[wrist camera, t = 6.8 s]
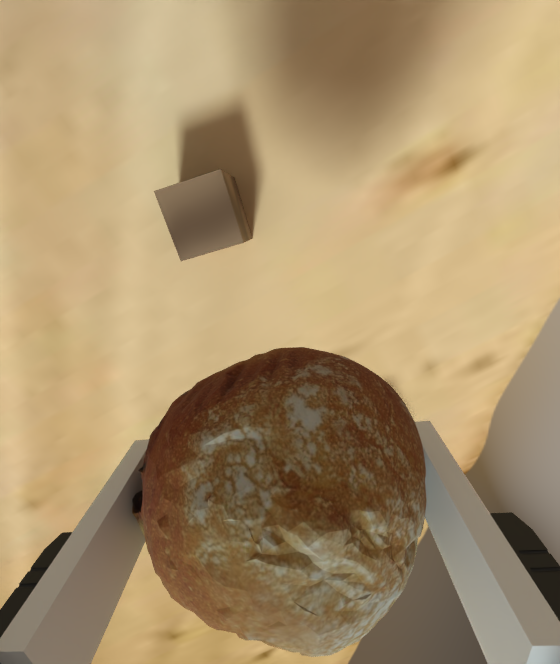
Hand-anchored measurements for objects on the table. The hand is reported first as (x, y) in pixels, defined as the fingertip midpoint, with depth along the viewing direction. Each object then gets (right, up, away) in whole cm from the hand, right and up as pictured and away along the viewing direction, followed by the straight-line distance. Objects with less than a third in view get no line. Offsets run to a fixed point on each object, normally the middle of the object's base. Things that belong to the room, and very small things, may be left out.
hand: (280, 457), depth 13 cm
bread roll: (0, 0, +1) cm, 1 cm away
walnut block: (-6, +15, +14) cm, 21 cm away
